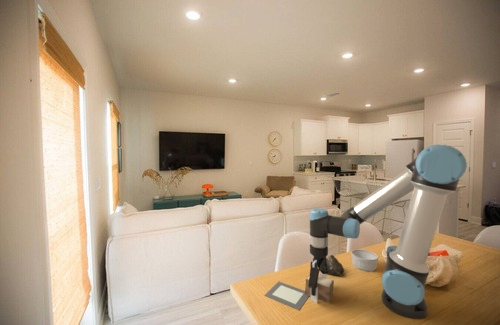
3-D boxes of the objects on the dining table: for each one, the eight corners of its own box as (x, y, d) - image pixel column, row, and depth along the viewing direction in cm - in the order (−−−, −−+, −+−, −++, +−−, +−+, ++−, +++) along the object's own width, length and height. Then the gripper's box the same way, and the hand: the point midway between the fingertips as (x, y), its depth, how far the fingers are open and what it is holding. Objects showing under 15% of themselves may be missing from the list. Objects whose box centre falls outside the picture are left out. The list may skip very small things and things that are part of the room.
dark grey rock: (347, 278, 108) (337, 259, 108) (330, 284, 110) (320, 266, 110) (343, 266, 119) (334, 250, 119) (327, 272, 120) (318, 256, 121)
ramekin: (380, 266, 121) (380, 253, 121) (375, 275, 111) (375, 262, 111) (355, 258, 130) (355, 247, 129) (347, 267, 120) (347, 254, 120)
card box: (332, 295, 96) (334, 279, 95) (328, 304, 90) (329, 287, 89) (310, 286, 101) (311, 271, 101) (304, 294, 95) (306, 278, 95)
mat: (311, 294, 96) (311, 292, 96) (299, 311, 86) (299, 309, 86) (278, 282, 106) (278, 281, 106) (264, 296, 95) (264, 295, 95)
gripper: (319, 235, 107) (319, 279, 107) (299, 252, 88) (299, 306, 88) (335, 238, 102) (335, 284, 103) (318, 257, 83) (318, 313, 84)
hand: (318, 294), depth 96 cm, fingers open, 11 cm apart
